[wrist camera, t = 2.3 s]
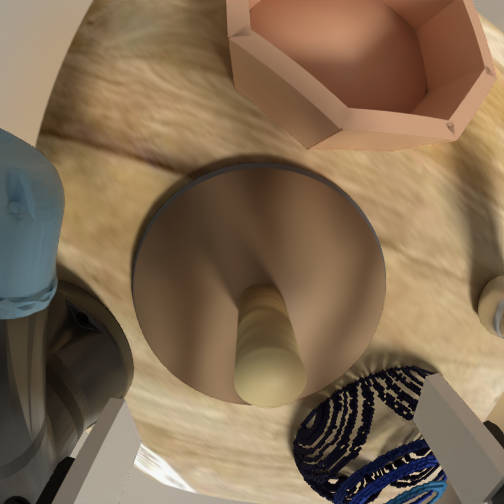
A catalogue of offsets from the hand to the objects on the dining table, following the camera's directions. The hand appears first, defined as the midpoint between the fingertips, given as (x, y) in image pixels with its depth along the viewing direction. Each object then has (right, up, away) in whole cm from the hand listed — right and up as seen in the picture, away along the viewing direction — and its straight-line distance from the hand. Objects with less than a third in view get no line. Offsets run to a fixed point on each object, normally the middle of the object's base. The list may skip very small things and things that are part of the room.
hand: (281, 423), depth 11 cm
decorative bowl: (+14, -15, +19) cm, 27 cm away
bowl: (+6, +24, +9) cm, 27 cm away
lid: (0, +3, +14) cm, 14 cm away
